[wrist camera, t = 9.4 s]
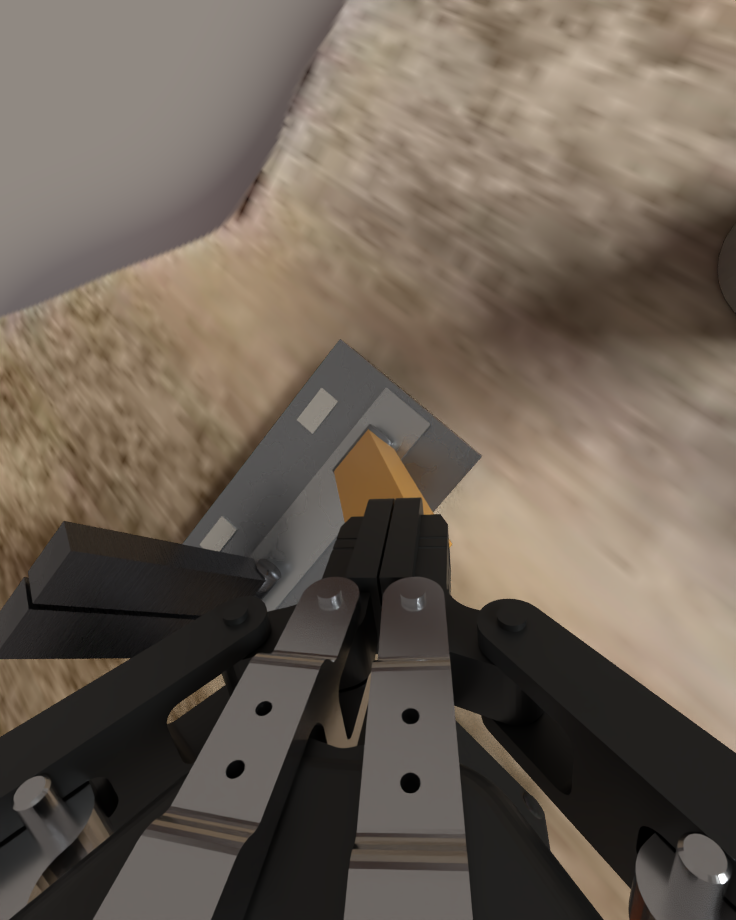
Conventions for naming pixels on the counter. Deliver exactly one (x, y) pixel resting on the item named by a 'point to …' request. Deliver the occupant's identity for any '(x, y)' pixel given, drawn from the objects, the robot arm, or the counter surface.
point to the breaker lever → (373, 474)
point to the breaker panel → (230, 527)
